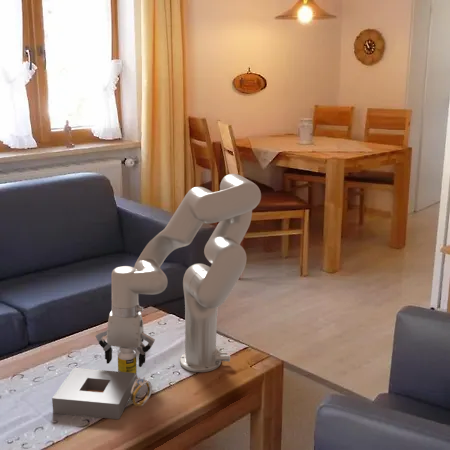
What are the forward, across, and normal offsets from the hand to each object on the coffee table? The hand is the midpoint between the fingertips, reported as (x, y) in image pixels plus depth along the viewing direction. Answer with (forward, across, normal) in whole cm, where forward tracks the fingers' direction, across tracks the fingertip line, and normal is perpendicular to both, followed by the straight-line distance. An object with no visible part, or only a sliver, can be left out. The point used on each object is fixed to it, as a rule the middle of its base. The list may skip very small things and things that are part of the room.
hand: (125, 363), depth 185 cm
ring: (+4, -9, +14) cm, 17 cm away
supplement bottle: (+4, -1, 0) cm, 4 cm away
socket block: (+4, +4, +14) cm, 15 cm away
